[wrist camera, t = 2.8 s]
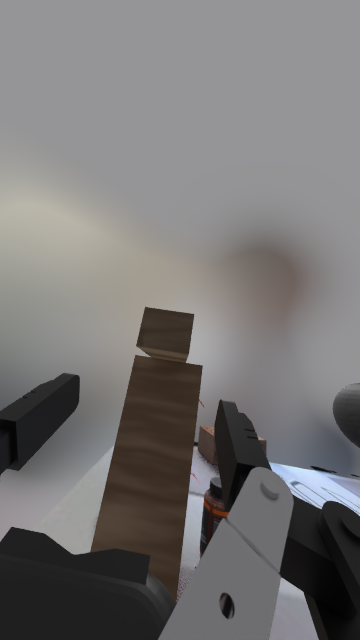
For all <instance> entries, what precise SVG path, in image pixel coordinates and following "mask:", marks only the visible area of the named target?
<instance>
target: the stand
mask: <svg viewBox="0 0 360 640" xmlns="http://www.w3.org/2000/svg"><path fill="white" fill-rule="evenodd" d="M202 367H203V366H202V365H195V364H189V363H183V362H176V361H170V360H164V359H157V358H151V357H144V356H138V355H135V359H134V363H133V368H132V372H131V376H130V381H129V385H128V389H127V394H126V398H125V403H124V407H123V411H122V416H121V420H120V425H119V429H118V433H117V438H116V442H115V446H114V451H113V455H112V459H111V464H110V468H109V473H108V477H107V481H106V486H105V490H104V494H103V499H102V503H101V508H100V512H99V516H98V521H97V525H96V529H95V534H94V538H93V543H92V547H91V551H90V552H96V551H102V550H108V549H114V548H117V549H122V550H126V551H131V552H136V553H141V554H146V555H150V562H149V568H148V571H149V572H150V573H152V574H153V575H154V576H156V577H157V578H158V579H159V580H160V581H161V582H162V583H163V585H164V586H165V587H166V589H167V590H168V591H169V592H170V594H171V596H172V597H173V599H174V601H175V603H176V598H177V589H178V580H179V572H180V563H181V554H182V545H183V536H184V527H185V518H186V509H187V500H188V491H189V483H190V474H191V465H192V456H193V447H194V438H195V428H196V420H197V411H198V402H199V393H200V385H201V375H202Z"/></svg>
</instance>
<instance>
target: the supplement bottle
mask: <svg viewBox="0 0 360 640" xmlns="http://www.w3.org/2000/svg"><path fill="white" fill-rule="evenodd" d="M228 514H229V512H225V509H224V502H223V495H222V488H221V480H220V478H218V477H214V478H211V481H210V488H209V489H208V490H207V491H206V493H205V496H204V505H203V517H202V528H201V540H200V553H201V556H203V554H204V552H205V550H206V548H207V546H208V544H209V542H210V541H211V539H212V537H213V535H214V533H215V531H216V529H217V527H218V526H219V524H220V522H221V520H222V519H223V518H224V517H225V518H227V516H228Z"/></svg>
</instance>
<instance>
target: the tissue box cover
mask: <svg viewBox="0 0 360 640" xmlns="http://www.w3.org/2000/svg"><path fill="white" fill-rule="evenodd" d="M258 440H259V441H260V443H261V446H262V448H263V450H264V453H265V455H266V440H264V439H262V438H260V437H258ZM198 450H199V451H200V452H201V453H202V455H203V456H204V457H205V458H206V459H207V460H208V461H209V462H210V463H211V464H212V465H218V459H217V452H216V445H215V438H214V427H205V426H200V432H199V441H198Z"/></svg>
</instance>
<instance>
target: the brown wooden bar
mask: <svg viewBox="0 0 360 640" xmlns="http://www.w3.org/2000/svg"><path fill="white" fill-rule="evenodd" d="M193 319H194V314H190V313H182V312H176V311H168V310H162V309H155V308H148V307H145V310H144V315H143V319H142V323H141V327H140V332H139V336H138V340H137V345H136V346H137V347H138V348H140V349H141V350H142V351H144V352H145V353H146V354H148V355H149V356H151V357H152V358H157V359H164V360H170V361H176V362H183V363H186V360H187V357H188V354H189V349H190V341H191V334H192V326H193Z"/></svg>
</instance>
